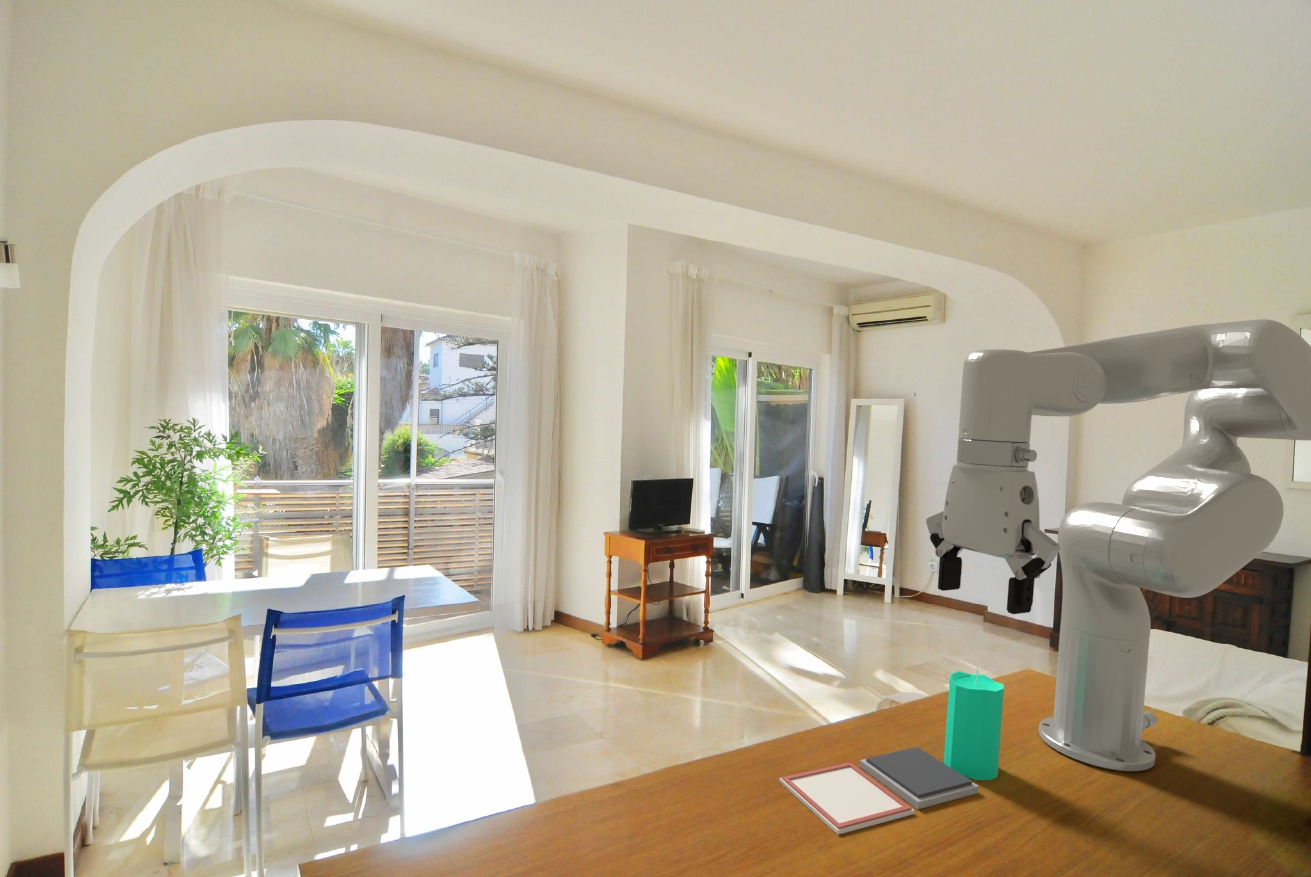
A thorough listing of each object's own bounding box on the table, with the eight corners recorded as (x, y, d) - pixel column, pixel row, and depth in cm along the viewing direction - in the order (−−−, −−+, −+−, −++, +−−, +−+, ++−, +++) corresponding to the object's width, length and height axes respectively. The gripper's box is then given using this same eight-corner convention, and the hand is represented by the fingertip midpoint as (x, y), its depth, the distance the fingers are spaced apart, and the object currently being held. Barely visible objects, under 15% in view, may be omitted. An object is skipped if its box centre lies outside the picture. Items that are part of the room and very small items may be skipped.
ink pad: (916, 753, 84) (917, 744, 84) (978, 793, 75) (979, 782, 75) (859, 766, 80) (860, 756, 80) (917, 809, 72) (918, 798, 72)
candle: (1005, 784, 78) (1012, 681, 77) (949, 775, 79) (956, 674, 78) (990, 758, 83) (997, 662, 83) (938, 750, 85) (945, 656, 84)
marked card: (849, 765, 80) (850, 761, 80) (914, 813, 71) (914, 808, 71) (779, 781, 76) (779, 776, 76) (837, 834, 67) (838, 828, 67)
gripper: (1085, 463, 73) (1073, 620, 74) (955, 451, 89) (946, 580, 90) (1038, 463, 70) (1026, 626, 71) (912, 450, 86) (903, 583, 86)
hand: (981, 600), depth 80 cm, fingers open, 9 cm apart
